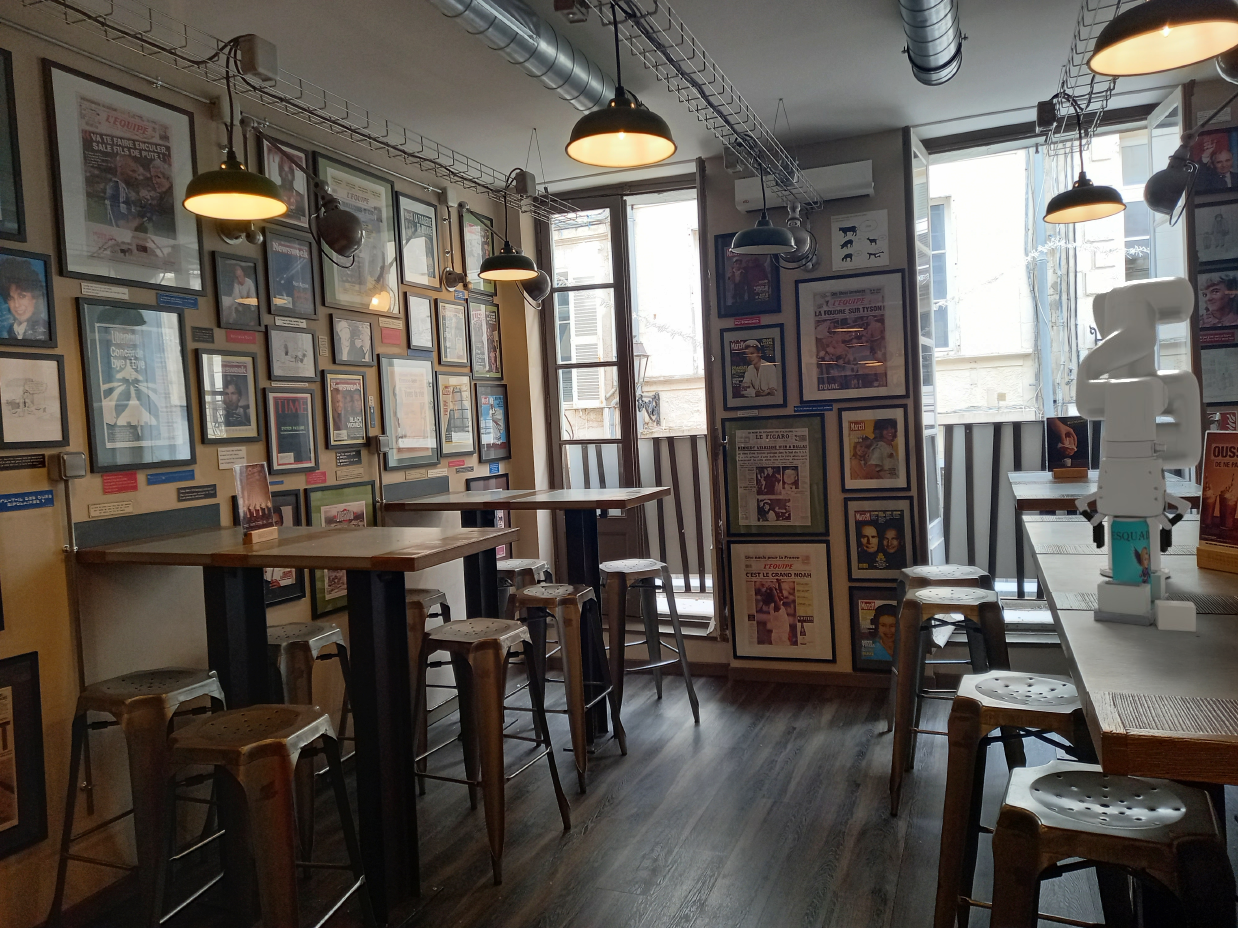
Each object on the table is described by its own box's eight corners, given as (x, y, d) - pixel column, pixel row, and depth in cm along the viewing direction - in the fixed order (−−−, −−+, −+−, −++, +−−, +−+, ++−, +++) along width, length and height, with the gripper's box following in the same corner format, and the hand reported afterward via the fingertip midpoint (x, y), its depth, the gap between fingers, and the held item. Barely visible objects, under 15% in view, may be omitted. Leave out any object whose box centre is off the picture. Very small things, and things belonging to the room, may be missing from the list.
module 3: (1155, 624, 141) (1155, 600, 141) (1191, 626, 139) (1191, 601, 139) (1158, 630, 138) (1158, 605, 137) (1196, 632, 135) (1195, 607, 135)
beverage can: (1139, 608, 145) (1135, 519, 145) (1106, 602, 150) (1103, 517, 150) (1159, 602, 148) (1156, 516, 147) (1126, 597, 153) (1123, 514, 152)
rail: (1118, 599, 159) (1118, 589, 158) (1169, 604, 153) (1169, 593, 153) (1093, 619, 145) (1093, 608, 145) (1148, 625, 140) (1148, 613, 140)
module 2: (1120, 592, 158) (1120, 566, 158) (1165, 596, 153) (1165, 569, 153) (1115, 596, 155) (1115, 570, 155) (1161, 600, 150) (1160, 573, 150)
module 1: (1103, 606, 148) (1103, 578, 148) (1150, 610, 143) (1150, 582, 143) (1097, 610, 145) (1097, 582, 145) (1145, 615, 140) (1145, 586, 140)
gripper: (1193, 448, 145) (1194, 549, 146) (1080, 449, 156) (1082, 542, 158) (1186, 452, 139) (1187, 557, 141) (1069, 453, 151) (1071, 549, 152)
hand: (1131, 549), depth 149 cm, fingers open, 9 cm apart
